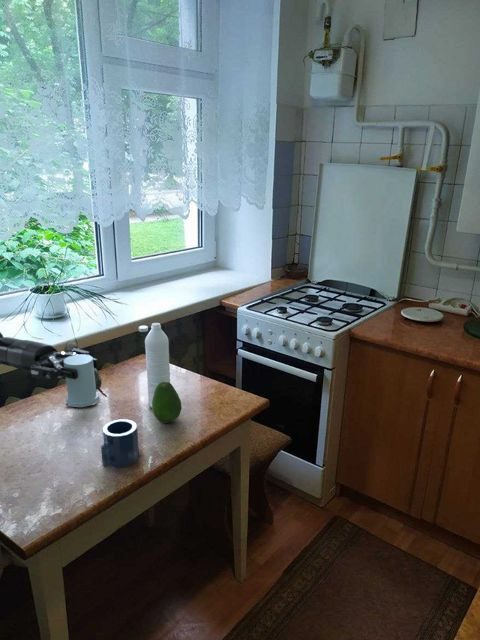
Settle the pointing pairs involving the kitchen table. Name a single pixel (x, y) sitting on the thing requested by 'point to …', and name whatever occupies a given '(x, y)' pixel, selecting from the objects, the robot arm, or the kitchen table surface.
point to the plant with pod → (97, 377)
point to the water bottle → (156, 358)
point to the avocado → (166, 403)
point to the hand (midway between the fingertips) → (87, 369)
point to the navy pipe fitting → (120, 443)
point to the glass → (81, 381)
